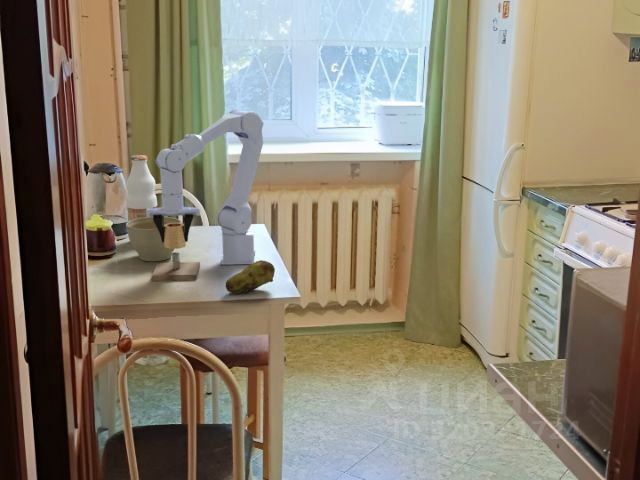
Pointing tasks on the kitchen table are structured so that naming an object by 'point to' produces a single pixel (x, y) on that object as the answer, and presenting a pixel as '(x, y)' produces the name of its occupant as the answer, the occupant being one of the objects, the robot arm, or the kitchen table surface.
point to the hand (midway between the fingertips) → (175, 241)
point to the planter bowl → (148, 238)
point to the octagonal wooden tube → (174, 235)
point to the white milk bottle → (140, 189)
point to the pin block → (176, 270)
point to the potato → (251, 277)
